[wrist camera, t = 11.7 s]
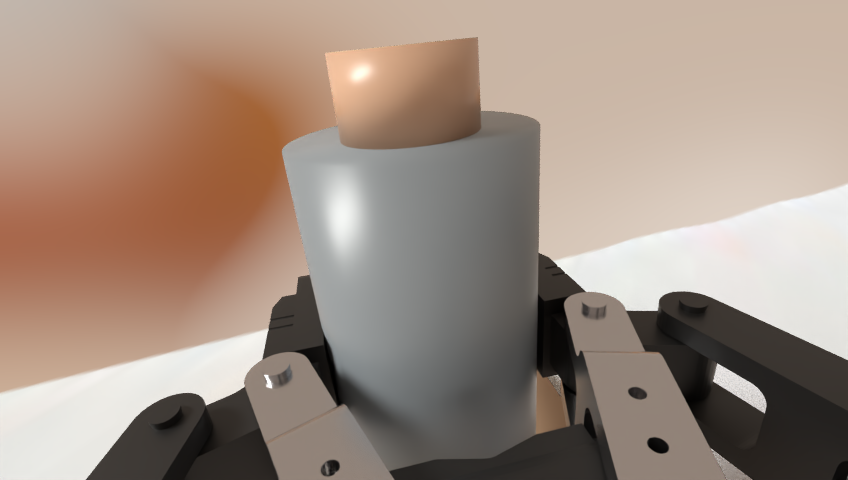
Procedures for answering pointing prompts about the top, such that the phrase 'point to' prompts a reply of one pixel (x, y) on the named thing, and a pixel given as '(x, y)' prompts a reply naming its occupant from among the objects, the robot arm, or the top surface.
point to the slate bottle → (424, 252)
